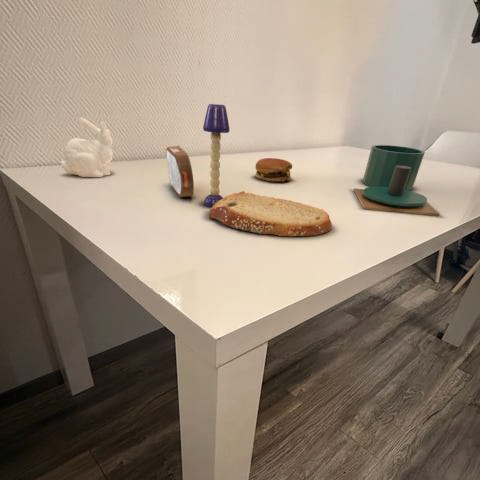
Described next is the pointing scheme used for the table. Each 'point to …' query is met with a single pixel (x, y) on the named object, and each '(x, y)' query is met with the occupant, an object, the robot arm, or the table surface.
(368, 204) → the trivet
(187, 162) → the tin
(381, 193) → the tin lid
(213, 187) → the toy lamp
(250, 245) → the table surface
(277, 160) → the burger
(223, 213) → the bread slice
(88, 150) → the rabbit
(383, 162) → the enamel tin
